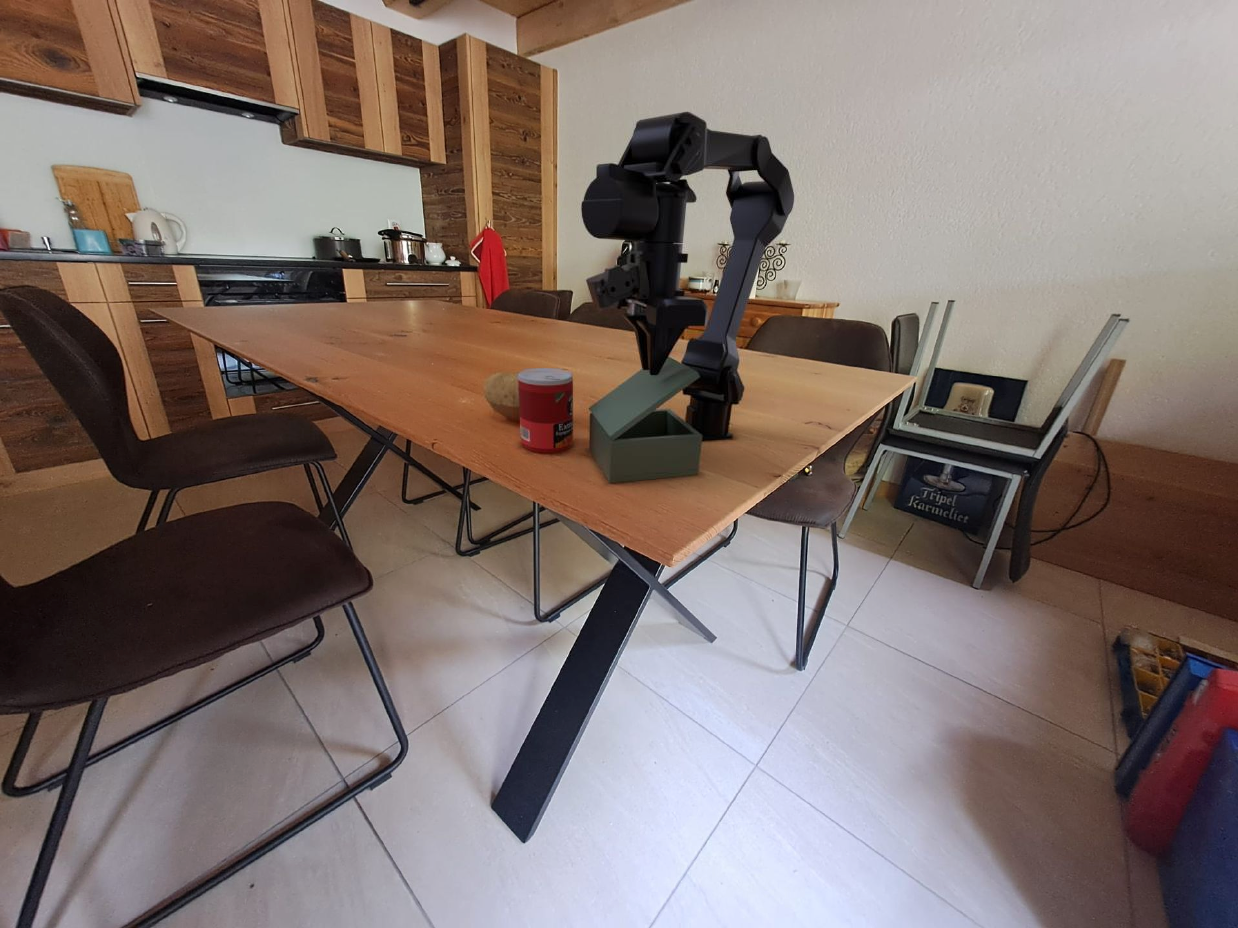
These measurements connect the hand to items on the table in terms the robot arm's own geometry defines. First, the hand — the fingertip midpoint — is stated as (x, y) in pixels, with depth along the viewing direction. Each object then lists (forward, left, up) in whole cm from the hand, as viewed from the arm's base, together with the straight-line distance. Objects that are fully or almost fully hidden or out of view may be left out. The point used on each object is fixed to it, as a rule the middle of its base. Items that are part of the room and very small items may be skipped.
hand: (649, 372), depth 63 cm
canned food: (+13, -9, -13) cm, 20 cm away
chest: (0, 0, -13) cm, 13 cm away
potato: (+14, -21, -13) cm, 29 cm away
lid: (+1, 0, -3) cm, 3 cm away
